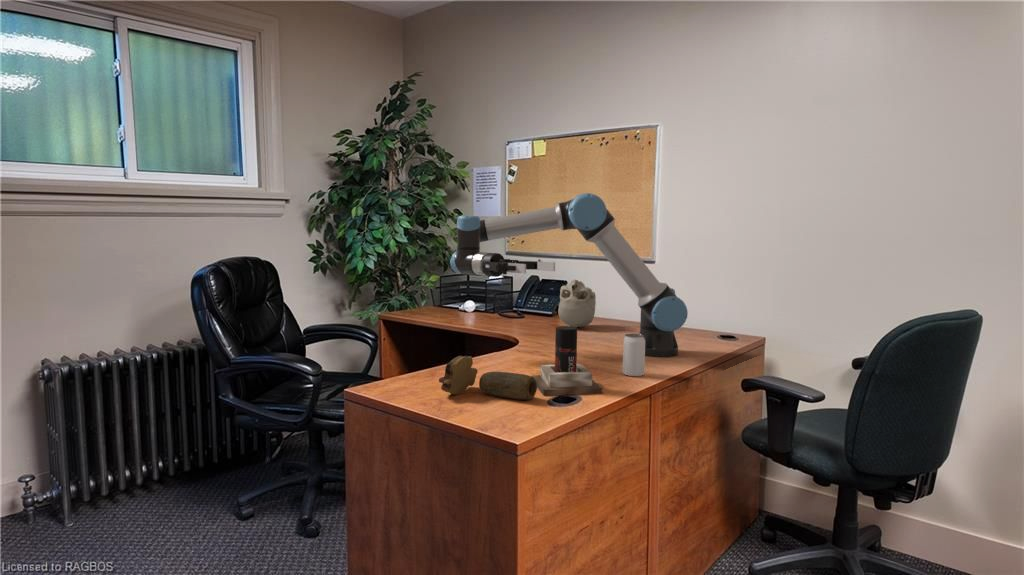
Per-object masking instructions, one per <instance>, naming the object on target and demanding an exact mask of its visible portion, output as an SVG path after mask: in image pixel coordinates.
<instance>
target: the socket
mask: <svg viewBox="0 0 1024 575" xmlns="http://www.w3.org/2000/svg"><path fill="white" fill-rule="evenodd" d="M531 376H532V377H534V378H535V380H536V382H537V390H538V391H540V393H541V394H542V395H543V396H544V397H545V396H546V397H547V396H568V395H567V394H572V395H592V394H593V395H595V394H603V386H601V385H600V384H598V383H597V382H596V381H595V380H594V379H593V373H592V372H591V371H590V370H589V369H587V368H586V367H585V366H584V365H582V363H577V364H576V372H561V373H556V372H555V364H540V374H538V375H537V374H536V375H533V374H531Z"/></svg>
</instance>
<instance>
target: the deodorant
mask: <svg viewBox="0 0 1024 575" xmlns="http://www.w3.org/2000/svg"><path fill="white" fill-rule="evenodd" d="M554 340H555V346H554V348H555V349H554V350H555V351H554V365H555V372H556V373H561V372H576V364H578V362H577V357H578V356H577V355H578V354H577V353H578V352H577V351H578V328H577V327H572V326H569V325H561V326H560V325H559V326H556V327H555V339H554Z"/></svg>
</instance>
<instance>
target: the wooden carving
mask: <svg viewBox="0 0 1024 575" xmlns="http://www.w3.org/2000/svg"><path fill="white" fill-rule="evenodd" d="M473 363H474V362H473V357H472V356H469V355H464V356H463V355H458V356H456V357H454V358H452V360H450V361H449V362H447V364H446V365H445V369H444V375H443V376H442V377H440V378H438V382H439V383H441V384H442V385H441V387H440V389H441V390H442V391H443V392H446V393H450V394H452V395H455V396H457V395H458V394H459V395H461V394H462V392H463V393H464V392H465V391H466V390H467V388H469V386H470V387H472V386H474V384H475V382H476V377H477V374H478V369H477V368H476V367H473ZM460 393H461V394H460Z"/></svg>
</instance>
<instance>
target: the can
mask: <svg viewBox="0 0 1024 575" xmlns="http://www.w3.org/2000/svg"><path fill="white" fill-rule="evenodd" d="M622 342H623V343H622V344H623V346H622V347H623V349H622V375H624V374H625V375H624V376H626V375H628V376H627V377H630V376H640V377H643V376H644V375H645V371H646V370H645V366H646V365H645V364H646V362H645V361H646V355H645V339H644V335H641V334H639V333H625V335H624V338H623V341H622ZM642 375H643V376H642Z"/></svg>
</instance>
